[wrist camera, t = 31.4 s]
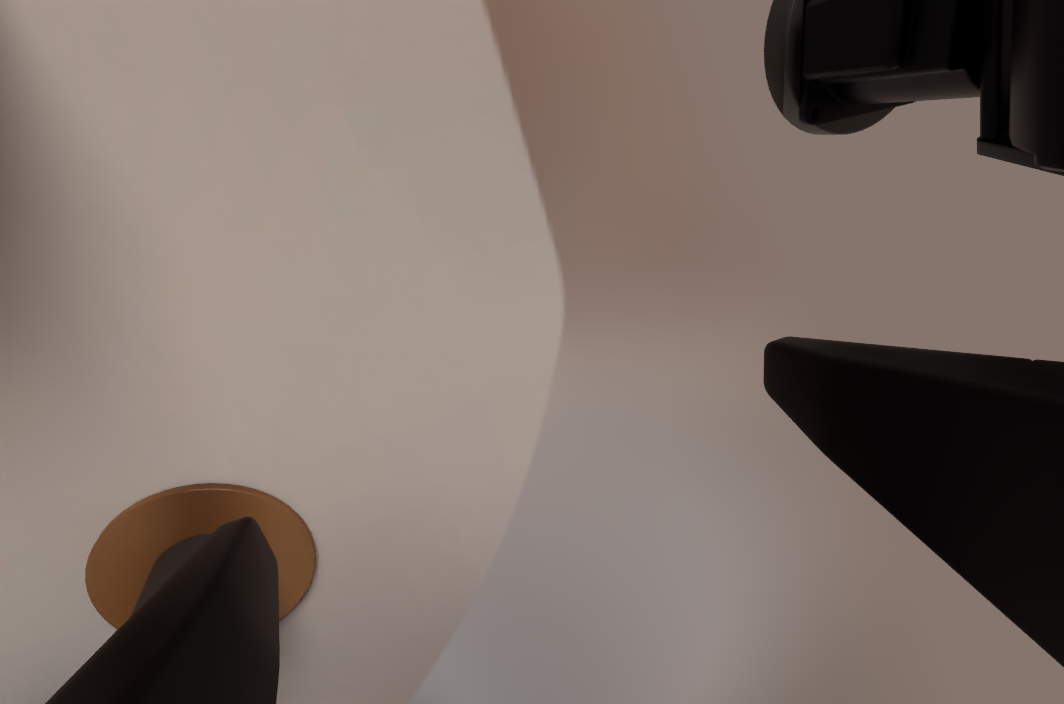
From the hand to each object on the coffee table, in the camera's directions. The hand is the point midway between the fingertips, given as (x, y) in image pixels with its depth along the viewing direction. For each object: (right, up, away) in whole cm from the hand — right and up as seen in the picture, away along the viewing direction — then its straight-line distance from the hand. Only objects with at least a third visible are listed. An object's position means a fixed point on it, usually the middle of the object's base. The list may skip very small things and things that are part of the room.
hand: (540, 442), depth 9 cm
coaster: (-13, -7, +13) cm, 20 cm away
